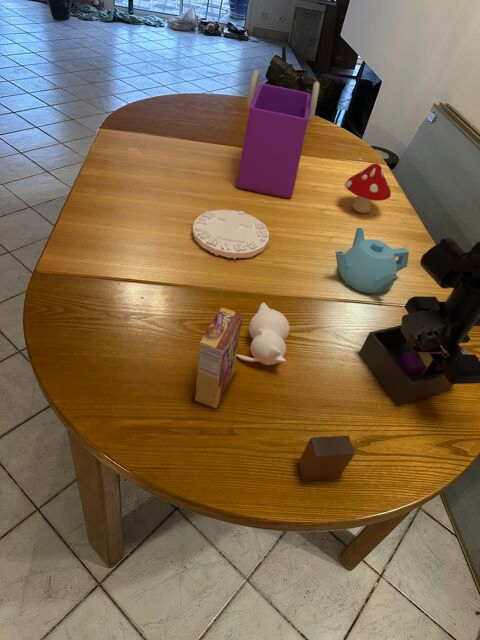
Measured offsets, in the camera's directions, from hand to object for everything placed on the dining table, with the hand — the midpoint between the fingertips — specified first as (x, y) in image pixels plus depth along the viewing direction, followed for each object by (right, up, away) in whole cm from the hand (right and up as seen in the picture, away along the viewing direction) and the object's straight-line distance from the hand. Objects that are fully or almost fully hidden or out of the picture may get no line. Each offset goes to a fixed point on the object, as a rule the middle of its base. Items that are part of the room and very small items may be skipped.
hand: (422, 367), depth 79 cm
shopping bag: (-26, +56, +59) cm, 85 cm away
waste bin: (-2, -1, +5) cm, 5 cm away
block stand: (-22, -15, -13) cm, 30 cm away
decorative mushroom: (+3, +43, +51) cm, 67 cm away
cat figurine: (-30, +3, +4) cm, 31 cm away
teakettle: (-4, +19, +26) cm, 32 cm away
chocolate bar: (0, 0, 0) cm, 0 cm away
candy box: (-39, -3, -4) cm, 40 cm away
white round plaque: (-37, +31, +31) cm, 57 cm away
